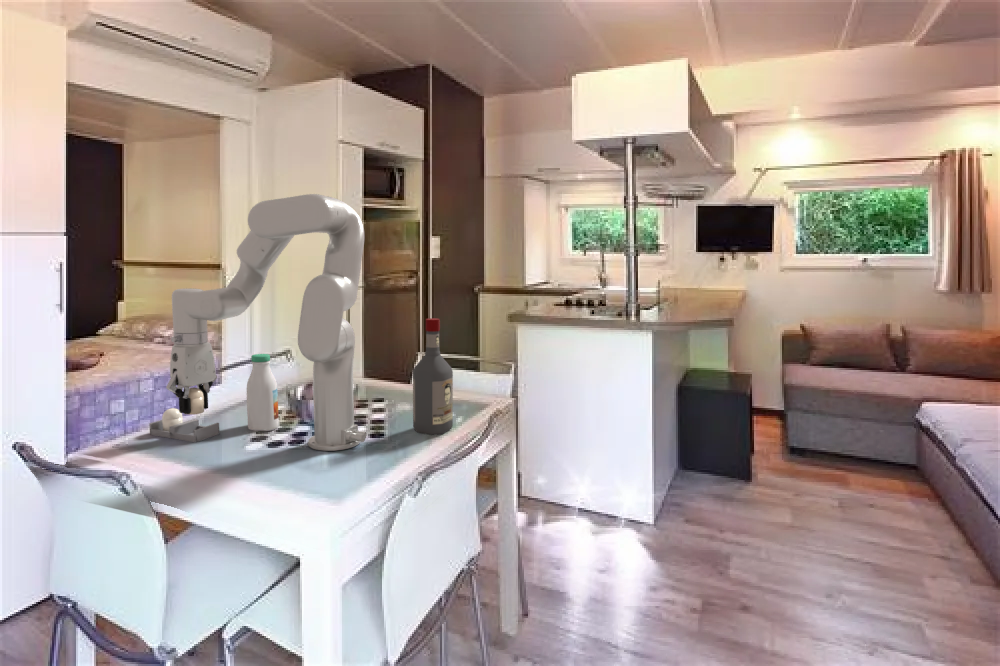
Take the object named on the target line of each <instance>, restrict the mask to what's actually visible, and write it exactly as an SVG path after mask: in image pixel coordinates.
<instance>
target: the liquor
mask: <svg viewBox="0 0 1000 666" xmlns="http://www.w3.org/2000/svg"><path fill="white" fill-rule="evenodd" d="M440 329H441V321H440V318H436V317H435V318H434V317H433V318H425V332H426V333H425V336H426V337H425V338H426V340H425V342H426V343H425V344H426V345H425V352H424V356H423V357H422V358H421V359H420V360H419V361H418V362H417V364H416V365H415V366H414V367H413V370H412V419H413V420H412V421H413V422H412V428H413V429H414V431H415V432H416V434H424V435H429V436H438V435H444V434H445V433H447V432H449V431H451V430H452V428H453V420H454V418H453V417H454V416H453V411H454V410H453V409H454V408H453V407H454V406H453V403H454V401H453V399H454V398H453V397H454V396H453V395H454V392H453V391H454V386H453V385H454V382H453V380H454V379H453V378H454V377H453V376H454V375H453V374H454V372H453V369H452V366H451V365H450V364H449V363H448V362H447V361H446V359H444V357H443V356H442V355H441V351H440V350H441V349H440ZM450 429H451V430H450Z"/></svg>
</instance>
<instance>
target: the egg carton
mask: <svg viewBox="0 0 1000 666" xmlns="http://www.w3.org/2000/svg"><path fill="white" fill-rule="evenodd" d="M199 421H200V420H199V419H195V418H193V419H191V420H186V421H183V423H180V424H177V425H173V426H170V432H169V431H163V423H162V419H159V420H156V421H153V422H150V423H148V425H149V426H148V427H149V435H150V436H155V437H161V438H168V439H173V440H179V441H186V442H191V443H199V442H200V441H204V440H206V439H211V438H212V437H215V436H219V435H220V423H219V422H216V423H211V424H209V425H206V426H204V425H200V423H199Z"/></svg>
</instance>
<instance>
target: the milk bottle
mask: <svg viewBox="0 0 1000 666" xmlns="http://www.w3.org/2000/svg"><path fill="white" fill-rule="evenodd" d="M250 357H251V364H252V367H251V368H252V369H251V372H250V375H249V376H248V379H247V381H246V382H247V383H246V409H247V410H246V411H247V412H246V413H247V415H246V416H247V429H248V430H250V431H262V432H269V431H270V432H271V431H273V430H276V429H278V428H279V426H280V424H279V423H280V421H279V419H280V418H279V395H278V384H277V380H276V377H275V375H274V374H273V372H272V368H271V366H270V364H271V355H270V354H269V353H256V354H253V355H251V356H250Z"/></svg>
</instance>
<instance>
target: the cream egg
mask: <svg viewBox="0 0 1000 666" xmlns="http://www.w3.org/2000/svg"><path fill="white" fill-rule="evenodd" d="M183 419H184V418H183V413H180V412H179V408H175V407H171V408H168V409H166V410H165V411H163V413H162V417H161V420H162V423H163V431H169V432H170V426H173V425H177V424H180V423H183V422H184V421H183Z"/></svg>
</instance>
